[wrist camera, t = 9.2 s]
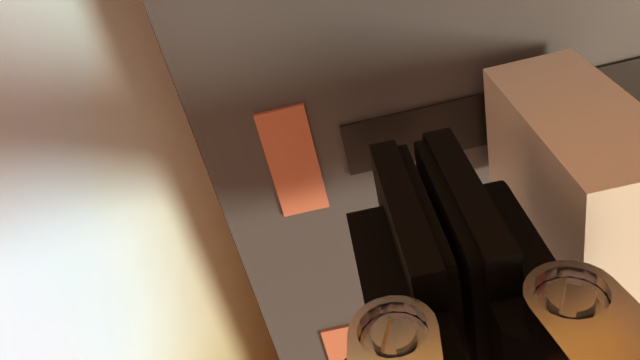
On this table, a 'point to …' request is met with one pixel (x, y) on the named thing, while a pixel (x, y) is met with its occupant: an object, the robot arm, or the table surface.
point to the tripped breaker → (569, 158)
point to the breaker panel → (348, 118)
